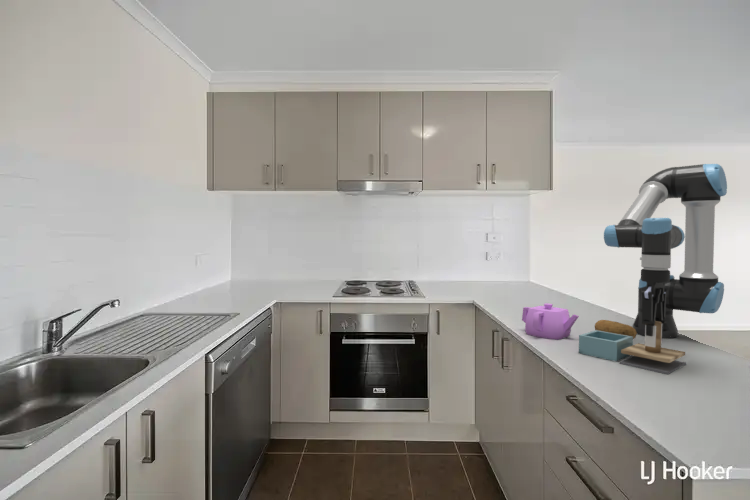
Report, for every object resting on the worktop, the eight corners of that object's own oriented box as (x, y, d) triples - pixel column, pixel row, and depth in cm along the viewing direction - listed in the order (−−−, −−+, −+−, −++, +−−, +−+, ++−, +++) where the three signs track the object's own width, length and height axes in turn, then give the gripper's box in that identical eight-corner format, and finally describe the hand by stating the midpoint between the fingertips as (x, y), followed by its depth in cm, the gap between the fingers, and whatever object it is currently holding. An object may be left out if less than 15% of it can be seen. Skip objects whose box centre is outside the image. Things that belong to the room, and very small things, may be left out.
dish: (595, 347, 154) (596, 330, 154) (632, 354, 144) (633, 336, 144) (578, 353, 146) (579, 335, 146) (616, 361, 137) (617, 342, 137)
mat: (639, 354, 144) (639, 353, 144) (686, 364, 134) (686, 362, 134) (619, 363, 135) (619, 361, 135) (667, 374, 125) (667, 372, 125)
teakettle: (519, 329, 181) (520, 300, 180) (561, 330, 180) (562, 300, 180) (533, 340, 164) (533, 307, 163) (579, 340, 163) (580, 307, 163)
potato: (627, 350, 150) (628, 326, 150) (588, 341, 162) (589, 319, 162) (642, 346, 155) (643, 323, 155) (603, 337, 167) (604, 317, 167)
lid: (638, 346, 143) (639, 315, 143) (685, 355, 133) (686, 322, 133) (621, 353, 135) (621, 320, 135) (669, 363, 125) (670, 328, 125)
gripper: (652, 266, 141) (650, 338, 142) (630, 269, 131) (628, 347, 132) (679, 268, 135) (677, 343, 136) (658, 271, 125) (656, 352, 126)
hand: (653, 345), depth 134 cm, fingers closed on lid, 4 cm apart
